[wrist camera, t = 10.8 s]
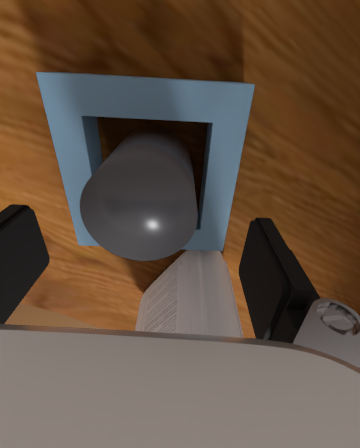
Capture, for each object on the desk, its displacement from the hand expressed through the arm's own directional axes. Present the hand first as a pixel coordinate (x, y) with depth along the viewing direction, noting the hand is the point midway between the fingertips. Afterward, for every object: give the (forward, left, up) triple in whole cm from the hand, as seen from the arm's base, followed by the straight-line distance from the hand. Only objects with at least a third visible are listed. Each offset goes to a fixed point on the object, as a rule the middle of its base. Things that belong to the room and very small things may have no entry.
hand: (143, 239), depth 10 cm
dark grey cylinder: (0, 0, -8) cm, 8 cm away
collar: (0, 0, -8) cm, 8 cm away
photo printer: (-2, +11, -8) cm, 14 cm away
